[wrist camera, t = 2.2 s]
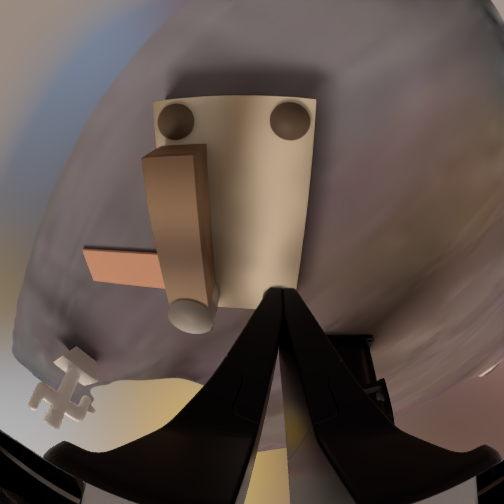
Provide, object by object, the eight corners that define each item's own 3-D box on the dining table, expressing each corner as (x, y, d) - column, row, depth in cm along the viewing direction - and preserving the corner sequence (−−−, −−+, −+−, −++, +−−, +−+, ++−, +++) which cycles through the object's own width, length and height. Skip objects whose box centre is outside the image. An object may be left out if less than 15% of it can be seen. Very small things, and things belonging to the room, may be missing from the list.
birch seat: (311, 98, 15) (316, 99, 14) (291, 295, 25) (292, 312, 23) (164, 99, 16) (151, 101, 14) (186, 288, 25) (180, 304, 24)
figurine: (95, 373, 41) (69, 439, 28) (56, 343, 37) (23, 408, 24) (111, 368, 38) (82, 442, 26) (67, 334, 34) (28, 409, 22)
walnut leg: (221, 307, 23) (215, 335, 21) (182, 304, 23) (172, 331, 21) (211, 143, 15) (197, 156, 13) (157, 146, 16) (135, 159, 13)
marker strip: (175, 253, 23) (174, 255, 23) (181, 288, 25) (180, 290, 25) (83, 248, 24) (82, 250, 24) (94, 278, 26) (93, 280, 26)
